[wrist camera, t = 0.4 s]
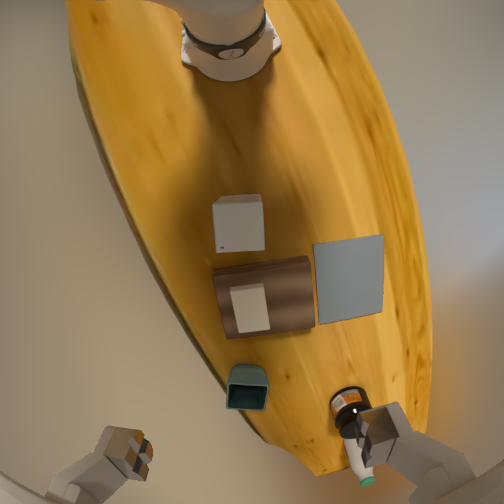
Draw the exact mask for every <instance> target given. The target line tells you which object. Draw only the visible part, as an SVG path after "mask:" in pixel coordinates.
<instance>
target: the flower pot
mask: <svg viewBox="0 0 504 504" xmlns="http://www.w3.org/2000/svg"><path fill="white" fill-rule="evenodd" d="M268 392H269V382H268V378H267V375H266V372H265V371H264V369H263V368H261V367H260V366H258V365H245V364H237V365H235V366H234V367H233V368H232V369H231V371H230V375H229V379H228V383H227V398H226V408H227V409H236V410H237V409H238V410H256V411H264V410H265V408H266V402H267V396H268Z"/></svg>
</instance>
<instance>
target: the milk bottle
mask: <svg viewBox="0 0 504 504" xmlns="http://www.w3.org/2000/svg"><path fill="white" fill-rule="evenodd" d="M344 445H345V449H346V453H347V456H348V460H349V463H350V466H351V469H352V470H353V472H354V473H356V474H357V476H358V477H359V478H360V485H361V486H367V485H370V484H372V483H374V482H375V478H374V475H373V467H370V468H366V469H365V467H364V464H363V461H362V458H361V453H362V449H361V448H359V447H358V445H357V442H356V439H344Z"/></svg>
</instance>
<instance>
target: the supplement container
mask: <svg viewBox="0 0 504 504" xmlns="http://www.w3.org/2000/svg"><path fill="white" fill-rule="evenodd" d="M330 407H331V410H332V413H333V417H334V420H335V426H336V428H337V429H338V430H339V433H340V436H341V437H342V438H344V439H356V437H355V426H356V424H357V423H358V421H357V414H358V412H362V411H365V410H369V409H372V406H371V404H370V402H369V399H368V397H367V394H366V392H365V390H364V389H363V388H361V387H358V386H351V387H346V388H344V389H342V390H340V391H338V392H337V393H336V394H335V395H334V396H333V397H332V399H331V401H330Z"/></svg>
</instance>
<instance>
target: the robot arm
mask: <svg viewBox="0 0 504 504" xmlns="http://www.w3.org/2000/svg"><path fill="white" fill-rule="evenodd" d="M95 1H104V0H95ZM145 1H150V2H154V3H157V4H161V5H164V6H166V7H169V8H171V9H173V10H175V11H176V12H177V13H178V14H179V16H180V17H181V24H182V25H184V30H182V37H183V42H182V51H181V60H182V62H183V63H185V64H188V65H191V66H195V67H196V68H198V69H199V70H200V71H201V72H202V73H203V74H205V75H206V76H208V77H210V78H212V79H215V80H219V81H238V80H243V79H246V78H248V77H250V76H252V75H254V74H255V73H257V72H258V71H259V70H260V69H261V68H262V67H263V66H264V65H265V63H266V62H267V60H268V58H269V56H270V55H271V54H272V53H273V52H275V51H276V50H277V49H279V48H280V46H281V40H280V38H279V36H278V34H277V32H276V30H275V28H274V26H273V24H272V22H271V20H270V18H269V16H268V15H267V13H266V11H265V9H264V0H145ZM274 38H275V39H274ZM357 421H358V423H357V424H356V426H355V437H356V442H357V445H358V447H359V448H361V449H362V453H361V458H362V461H363V464H364V467H365V469H366V468H370V467H374V466H377V465H380V464H384V463H387V465H389V466H390V467H391V468H393V469H394V470H396V471H397V472H398V473H400V474H401V475H402V476H404V477H405V478H407V479H408V480H409V481H411V482H412V483H414V484H415V485H417V486H418V487H417V488H416V489H415V491H414V492H413V493H412V494H411V496H410V497H409V499H408V500H409V503H410V504H504V460H502V461H501V462H500V463H498V464H497V465H495V466H494V467H492V468H491V469H489V470H488V471H487V472H485V473H483V474H482V475H480V476H479V477H477V478H476V476H475V474H474V472H473V470H472V468H471V467H470V465H469V463H468V461H467V459H466V457H465V455H464V453H462V452H460V451H458V450H455V449H453V448H451V447H449V446H447V445H445V444H443V443H441V442H439V441H436V440H434V439H432V438H430V437H428V436H426V435H425V434H423V433H421V432H419V431H415V432H414V431H413V429H412V428H411V426H410V424H409V422H408V420H407V418H406V416H405V414H404V412H403V410H402V408H401V406H400V404H399V403H398V402H393V403H390V404H387V405H384V406H383V405H382V406H379V407H376V408H372V409H369V410H365V411H362V412H358V414H357ZM152 457H153V448H152V445H151V444H150V442H149V441H148V440H146V439H145V438H144V434H143V432H142V431H141V430H136V429H127V428H120V427H114V426H107V427H105V429H104V431H103V433H102V435H101V437H100V439H99V441H98V444H97V445H96V448H95V450H94V452H93V453H89V454H88V455H86V456H85V457H84V458H82V459H80V460H79V461H77V462H76V463H74V464H73V465H71V466H70V467H68V468H66V469H65V470H63V471H62V472H60V473H58V474H57V475H55V476H54V478H53V480H52V482H51V484H50V486H49V488H48V490H47V493H46V495H45V497H44V496H42V495H40V494H38V493H36V492H34V491H33V490H31V489H29V488H27V487H25V486H24V485H22V484H20V483H19V482H17V481H15V480H14V479H12V478H11V477H9V476H7V475H6V474H4V473H3V472H1V471H0V504H102V503H104V502H105V501H106V500H107V499H108V498H109V497H110V496H111V495H113V494H114V493H115V492H116V491H117V490H118V489H119V488H120V487H121V486H122V485H123V484H124V483H125V482H126V481H127V480H128V479H132V480H138V481H146V478H147V475H148V471H149V468H148V466H147V464H148V463H150V462H151V461H152Z"/></svg>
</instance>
